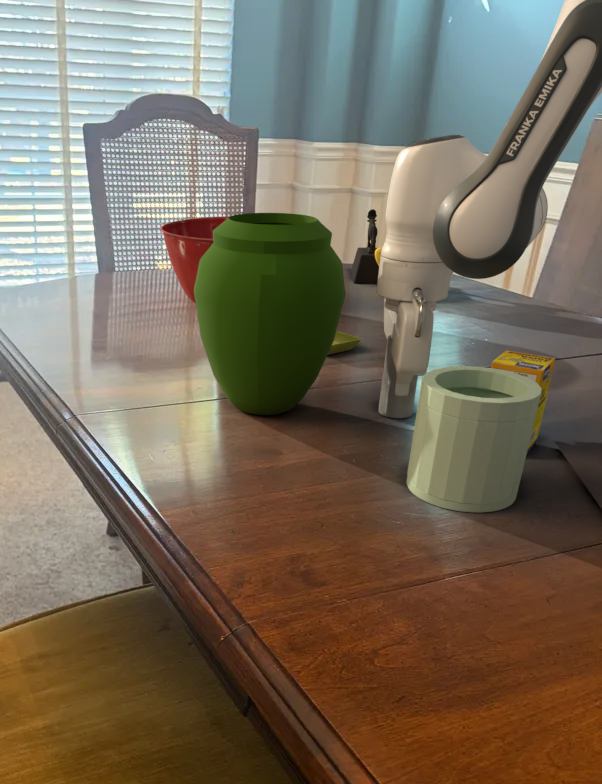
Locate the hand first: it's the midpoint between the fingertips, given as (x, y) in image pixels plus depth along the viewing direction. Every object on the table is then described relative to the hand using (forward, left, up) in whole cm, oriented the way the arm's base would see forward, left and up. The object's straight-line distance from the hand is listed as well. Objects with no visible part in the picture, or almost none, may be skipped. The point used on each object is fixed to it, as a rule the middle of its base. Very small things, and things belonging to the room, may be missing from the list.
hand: (398, 387), depth 103 cm
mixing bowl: (+28, -59, -4) cm, 65 cm away
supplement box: (-13, +10, -4) cm, 16 cm away
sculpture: (-2, -92, -4) cm, 92 cm away
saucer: (+9, -30, -4) cm, 32 cm away
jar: (-5, +23, -4) cm, 24 cm away
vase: (+18, 0, -4) cm, 18 cm away
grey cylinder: (0, 0, -4) cm, 4 cm away
